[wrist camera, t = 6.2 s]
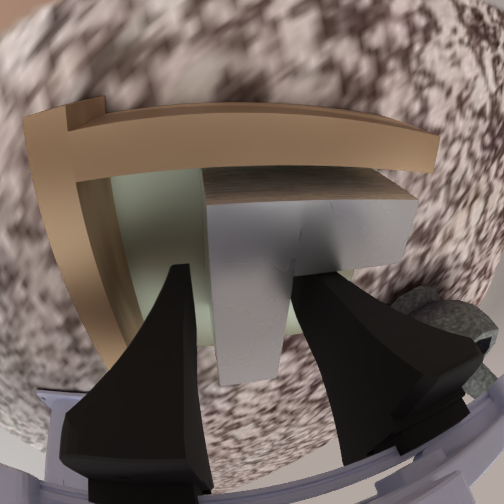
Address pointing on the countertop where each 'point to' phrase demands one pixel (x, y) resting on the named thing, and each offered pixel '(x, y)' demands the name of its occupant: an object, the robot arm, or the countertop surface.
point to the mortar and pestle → (453, 327)
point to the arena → (175, 191)
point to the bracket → (287, 247)
